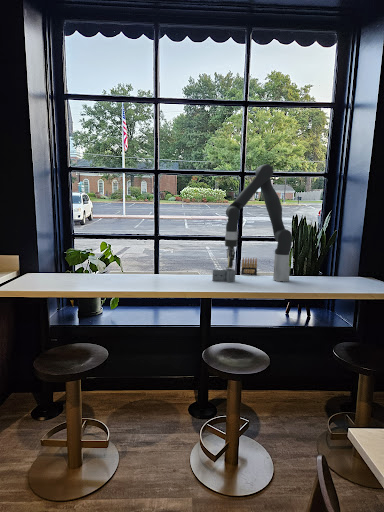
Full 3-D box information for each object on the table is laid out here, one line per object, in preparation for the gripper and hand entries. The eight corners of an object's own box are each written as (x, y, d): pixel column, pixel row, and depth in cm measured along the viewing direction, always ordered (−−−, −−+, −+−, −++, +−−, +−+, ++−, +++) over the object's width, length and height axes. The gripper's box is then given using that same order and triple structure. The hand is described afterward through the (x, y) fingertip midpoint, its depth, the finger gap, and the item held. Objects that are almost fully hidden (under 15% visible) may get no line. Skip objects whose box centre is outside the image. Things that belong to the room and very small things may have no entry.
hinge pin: (231, 267, 222) (232, 253, 220) (232, 268, 219) (233, 253, 217) (227, 267, 221) (227, 253, 220) (228, 267, 218) (228, 253, 217)
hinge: (230, 277, 232) (231, 266, 231) (236, 281, 218) (236, 270, 217) (209, 277, 231) (210, 266, 230) (213, 281, 217) (213, 270, 216)
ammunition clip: (256, 274, 243) (257, 257, 241) (256, 275, 241) (257, 258, 239) (241, 274, 243) (241, 257, 241) (241, 274, 241) (242, 257, 239)
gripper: (239, 240, 211) (238, 268, 213) (234, 237, 224) (233, 264, 227) (227, 239, 210) (226, 268, 212) (223, 237, 224) (222, 263, 226)
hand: (230, 265), depth 220 cm, fingers closed on hinge pin, 3 cm apart
